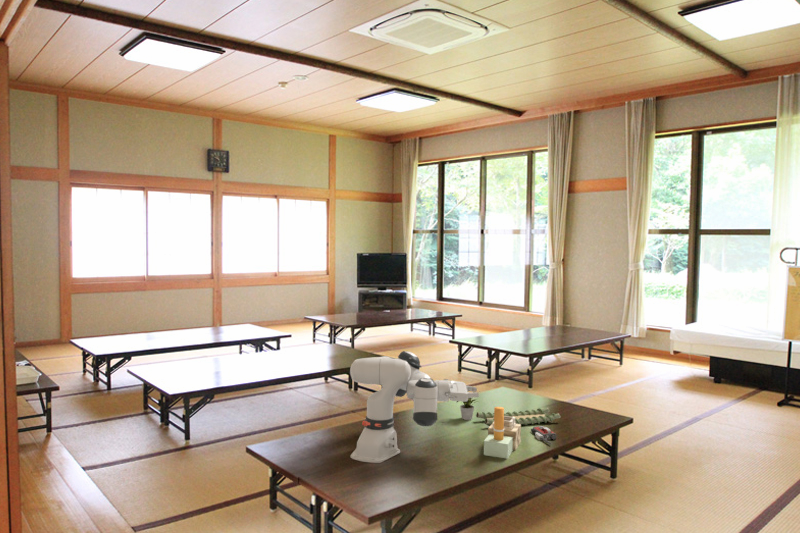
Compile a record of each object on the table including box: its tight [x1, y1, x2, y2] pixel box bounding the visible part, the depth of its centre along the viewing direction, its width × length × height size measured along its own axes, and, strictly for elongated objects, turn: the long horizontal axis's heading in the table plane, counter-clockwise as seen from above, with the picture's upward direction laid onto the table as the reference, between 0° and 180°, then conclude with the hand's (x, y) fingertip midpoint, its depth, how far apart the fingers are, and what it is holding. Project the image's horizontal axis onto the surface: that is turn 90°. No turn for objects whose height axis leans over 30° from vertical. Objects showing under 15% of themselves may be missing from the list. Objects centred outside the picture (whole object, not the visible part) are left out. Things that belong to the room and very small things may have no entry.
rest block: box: [483, 434, 514, 460], centre depth 237 cm, size 10×10×6 cm
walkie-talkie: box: [530, 425, 557, 445], centre depth 258 cm, size 9×4×20 cm
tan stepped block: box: [487, 416, 522, 451], centre depth 248 cm, size 12×12×12 cm
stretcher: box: [475, 407, 561, 426], centre depth 282 cm, size 41×14×5 cm, turn 106°
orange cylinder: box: [493, 406, 505, 440], centre depth 237 cm, size 4×4×13 cm
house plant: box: [456, 392, 479, 421], centre depth 286 cm, size 14×14×16 cm
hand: (477, 392), depth 238 cm, fingers open, 8 cm apart
